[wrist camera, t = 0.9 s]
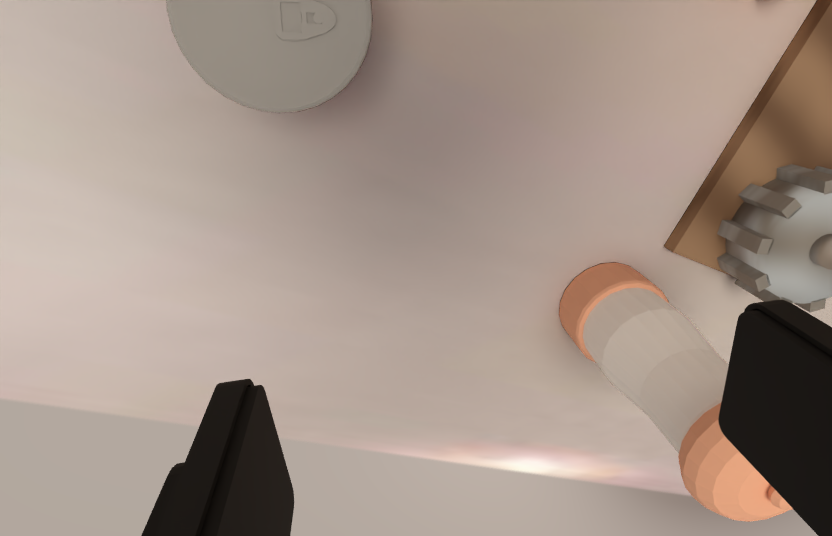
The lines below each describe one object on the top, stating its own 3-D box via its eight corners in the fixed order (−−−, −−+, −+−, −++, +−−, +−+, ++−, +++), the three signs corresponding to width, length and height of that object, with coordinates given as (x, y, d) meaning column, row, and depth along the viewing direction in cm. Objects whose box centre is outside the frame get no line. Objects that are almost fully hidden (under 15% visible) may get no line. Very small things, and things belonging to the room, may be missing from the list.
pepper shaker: (631, 344, 42) (830, 556, 24) (549, 340, 41) (695, 559, 23) (658, 265, 39) (903, 440, 22) (570, 259, 38) (754, 438, 20)
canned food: (381, 74, 31) (394, 87, 21) (258, 108, 31) (212, 136, 21) (345, -67, 28) (340, -131, 18) (208, -30, 28) (125, -73, 18)
